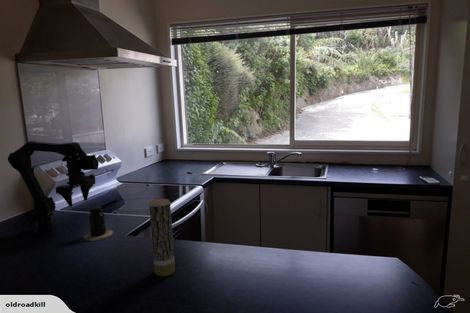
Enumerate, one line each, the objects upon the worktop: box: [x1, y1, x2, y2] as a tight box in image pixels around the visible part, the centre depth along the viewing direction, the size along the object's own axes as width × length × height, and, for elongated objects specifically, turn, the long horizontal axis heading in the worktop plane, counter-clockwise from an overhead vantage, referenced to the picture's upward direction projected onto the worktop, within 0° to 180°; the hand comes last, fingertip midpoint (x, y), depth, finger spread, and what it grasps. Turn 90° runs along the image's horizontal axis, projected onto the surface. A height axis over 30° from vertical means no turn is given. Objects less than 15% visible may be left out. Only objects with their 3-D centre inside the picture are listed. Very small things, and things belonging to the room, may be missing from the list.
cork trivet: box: [83, 228, 114, 242], centre depth 151 cm, size 12×12×1 cm
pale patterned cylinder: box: [148, 198, 176, 277], centre depth 114 cm, size 7×7×25 cm
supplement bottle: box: [87, 206, 107, 236], centre depth 150 cm, size 7×7×12 cm
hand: (78, 203), depth 156 cm, fingers open, 9 cm apart
